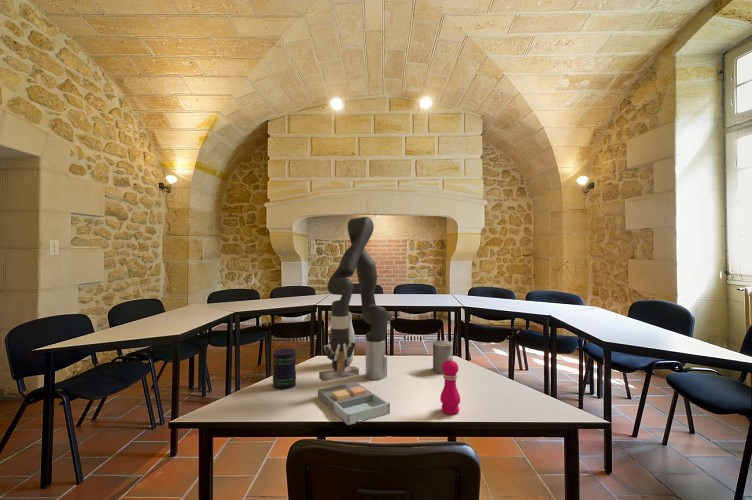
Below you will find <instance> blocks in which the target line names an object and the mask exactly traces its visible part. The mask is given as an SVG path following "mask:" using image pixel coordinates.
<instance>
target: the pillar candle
mask: <svg viewBox="0 0 752 500" xmlns="http://www.w3.org/2000/svg"><path fill="white" fill-rule="evenodd" d="M453 344H454V343H453V342H452V341H449V340H434V341H433V342H432V371H433V372H434V373H438V374H442V375H443V374H444V372H443V370H442V364H443V363H444V362H445V361H447V360H448V357H449V356H451V357H452V358H453V357H454V355H453V354H454V353H453V352H454V351H453V346H454V345H453ZM453 359H454V358H453ZM452 361H454V360H452Z"/></svg>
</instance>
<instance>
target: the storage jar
mask: <svg viewBox="0 0 752 500" xmlns="http://www.w3.org/2000/svg"><path fill="white" fill-rule="evenodd" d="M296 352H297V350H296V348H295V349H294V348H278V349H276V350H274V351H273V352H272V362H273V363H272V366H273V373H272V384H273V385H272V388H273V389H274V390H278V391H285V390H290V389H293V388H294V387H296V385H297V384H296V381H297V372H296V363H297V353H296Z"/></svg>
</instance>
